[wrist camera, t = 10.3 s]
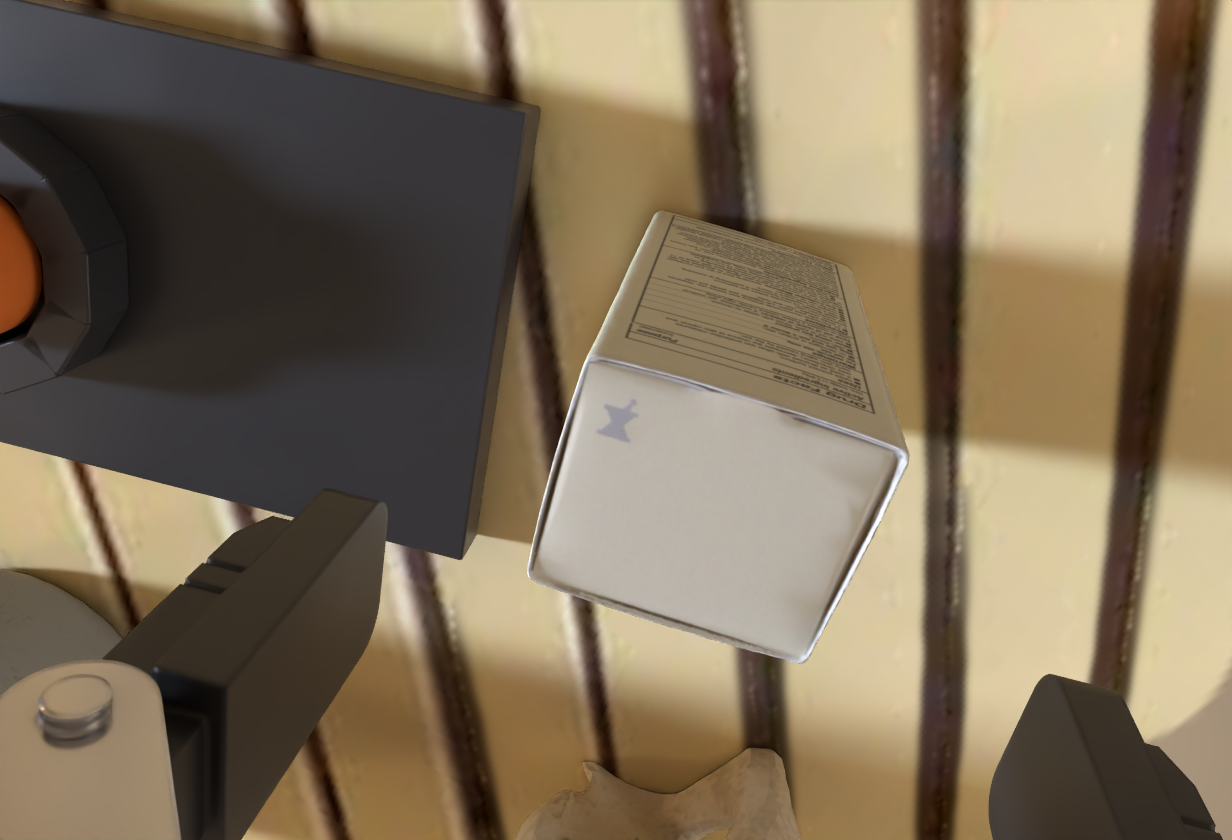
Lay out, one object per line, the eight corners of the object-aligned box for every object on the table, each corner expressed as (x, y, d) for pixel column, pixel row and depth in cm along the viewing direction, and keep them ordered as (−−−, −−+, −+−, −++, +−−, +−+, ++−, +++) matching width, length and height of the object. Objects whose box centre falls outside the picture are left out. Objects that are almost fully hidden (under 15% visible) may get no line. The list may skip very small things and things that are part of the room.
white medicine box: (606, 365, 25) (504, 577, 16) (657, 202, 23) (572, 335, 14) (799, 429, 25) (808, 681, 16) (865, 270, 23) (919, 450, 14)
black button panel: (-53, 400, 29) (-141, 442, 26) (-104, -38, 24) (-220, -43, 21) (476, 535, 28) (442, 594, 25) (541, 106, 22) (508, 121, 20)
